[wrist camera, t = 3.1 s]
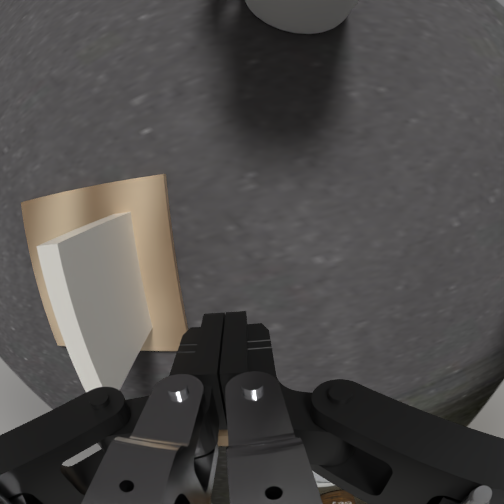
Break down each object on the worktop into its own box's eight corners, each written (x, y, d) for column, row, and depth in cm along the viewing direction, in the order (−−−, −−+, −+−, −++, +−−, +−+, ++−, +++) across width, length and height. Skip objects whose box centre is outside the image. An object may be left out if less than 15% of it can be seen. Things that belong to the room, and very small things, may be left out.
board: (165, 174, 17) (163, 174, 16) (191, 346, 20) (190, 350, 20) (24, 201, 17) (20, 202, 16) (60, 342, 20) (57, 345, 20)
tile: (130, 211, 17) (57, 243, 9) (152, 327, 19) (111, 406, 11) (112, 214, 17) (34, 246, 9) (135, 327, 19) (89, 402, 11)
